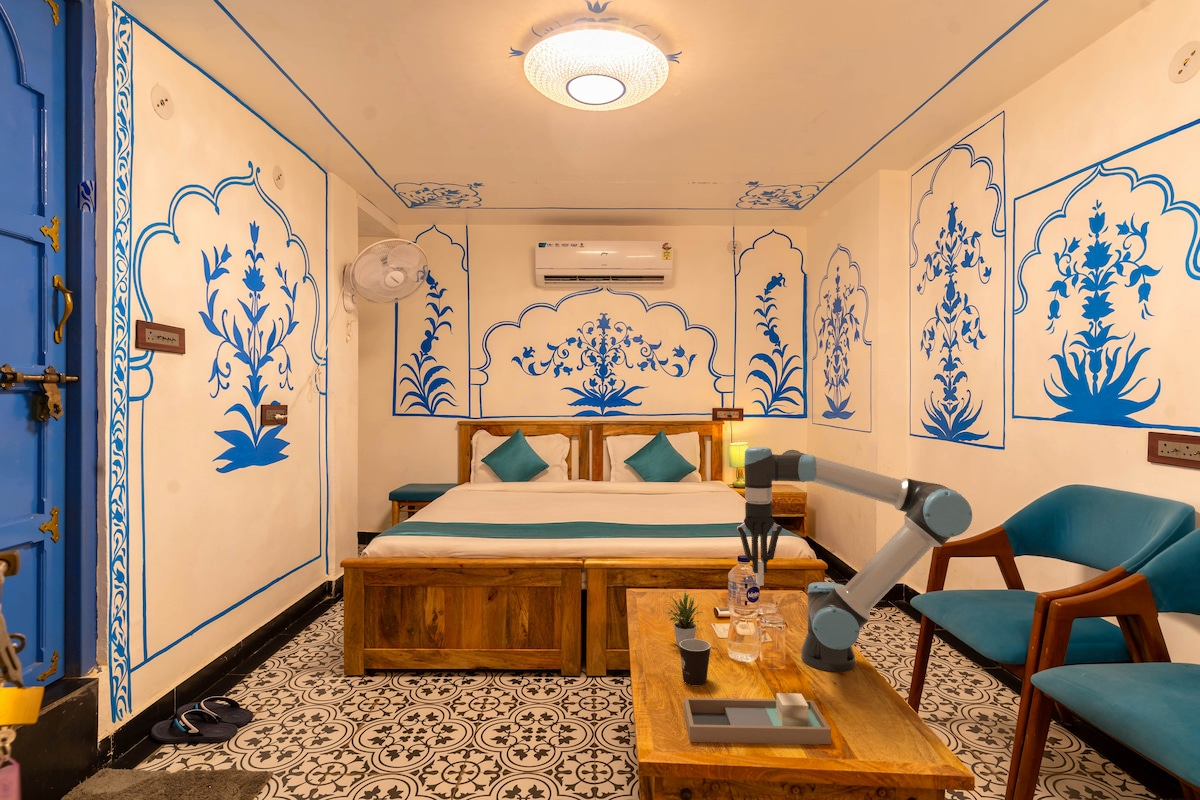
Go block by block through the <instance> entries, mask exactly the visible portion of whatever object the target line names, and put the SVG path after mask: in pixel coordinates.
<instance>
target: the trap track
mask: <svg viewBox="0 0 1200 800" xmlns="http://www.w3.org/2000/svg"><path fill="white" fill-rule="evenodd" d="M805 701H806V703H807V704H808V727H794V726H782V725H781V723H780V720H779V718H778V716H777V714H776V699H775V698H774V699H773V698H772V699H771V698H769V699H768V698H728V697H727V698H725V697H724V698H722V697H718V698H717V697H715V698H714V697H683V714H684V719H685V724H686V729H687V733H688V740H689V743H727V744H728V743H732V744H735V743H736V744H737V743H738V744H770V745H771V744H776V745H777V744H779V745H780V744H781V745H783V744H784V745H819V744H831V745H832V728H831V727H830V726H829V724H828V722H827V720H826V719H825V718H824V716H823V714H822V713H821V711H820V710H819V708H818V706H817V704H816V703H815V701H814V699H805Z"/></svg>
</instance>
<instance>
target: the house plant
mask: <svg viewBox="0 0 1200 800" xmlns="http://www.w3.org/2000/svg"><path fill="white" fill-rule="evenodd" d="M667 596H668V598H669V597H670V599H672V601H673V602H674V604H675V605H673V604H671V603H670V602H668V601H667V602H666V601H665V603H668V604H666V605H667V606H671V607H672V608H673V609H674V610H675V612H674V611H673V610H672V609H671V608H668V607H667V609H668V610H669V612H667V613H666V615H668V616H669V617H670V619H669V620H668V622H669V621H673V622H672V623H673V629H674V633H675V635H674V636H675V642H676V646H677V645H678V647H679V648H680V646H679V643H680V642H681V641H683V640H686V639H696V638H695V637H696V630H697V624H696V623H695V622H698V623H699V620H694V619H695V616H696V615H698V614H701V613H702V614H703V613H704V612H703V611H699V612H696V613H695V611H696V610H697V608H698V607H700V606H701V604H702V602H700V603H698V604H697V606H695V607H694V604H695V597H693V596H692V595H690V593H687V591H684V593H683V601H682V599H681V598H679V605H678V602H677V600H675V599H674V597H673V596H670V595H668V594H667ZM689 596H690V599H689ZM688 600H689V602H688ZM694 613H695V614H694ZM671 615H672V616H673V617H671Z"/></svg>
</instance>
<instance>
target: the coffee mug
mask: <svg viewBox="0 0 1200 800" xmlns="http://www.w3.org/2000/svg"><path fill="white" fill-rule="evenodd" d="M679 646H680V647H679ZM679 646H678V647H679V653H680V662H681V663H680V665H681V673H682V681H683V680H684V681H683V683H685V682H686V683H687V684H686V683H685V684H686V685H688V684H690V685H689V686H692V685H700V686H704V685H705V684H706V683H707V679H708V670H709V664H710V663H709V662H710V655H711V643H710V642H708V641H706V640H703V639H699V638H694V639H686V640H683V641H681V642H680V643H679ZM703 684H704V685H703Z"/></svg>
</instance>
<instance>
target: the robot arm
mask: <svg viewBox="0 0 1200 800" xmlns="http://www.w3.org/2000/svg"><path fill="white" fill-rule="evenodd" d="M773 482H798V483H799V482H801V483H806V482H808V483H809V482H812V483H814V484H815V483H816V484H819V485H822V486H827V487H829V488H834V489H836V490H840V491H844V492H847V493H850V494H854V495H858V496H860V497H865V498H868V499H871V500H875V501H878V502H882V503H885V504H888V505H892V506H893V507H894V508H895V509H896V510H897V511H901V512H904V513H905V514H904V517H903V518H904V519H903V520H904V524H903V525H902V526H901V527H899V529H898V530H897V532H895V533H894V534H893V535H892V536H891V538H889V540H887V542H886V543H885V544H884V545H883V546H882V547H881V548H879V550H878V551H877V552H876V553H875V554H874V555H873V556H872V557H871V558H870V560H868V562H866V563H865V564H864V566H863V567H861V569H860V570H859V571H858V572H857V573H856V574H855V575H854V576H853V577H852V578H851V579H850V580H849V581H848V582H847V583H846V584H845V585H844V584H841V583H834V582H825V581H820V582H819V581H818V582H812V583H809V584H808V587H807V591H806V594H807V634H806V636H805V640H804V642H803V645H802V648H801V655H800V656H801V660H802V661H803V662H804V664H806V665H808V666H809V667H812V668H815V669H818V670H821V671H826V672H827V671H829V672H845V671H846V672H847V671H850V670H852V669H854V668H855V666H856V656H855V652H854V648H853V646H854V644H855V643H856V642H857V641H858V638H859V636H860V633H861V631H860V630H861V629H862V628H863V627H864V626H865V625H866V624H867V623H868V622H869V621H870V620H871V613H870V611H871V610H872V609H873V607H875V606H876V604H878V603H879V602H880V600H882V598H884V596H885V595H886V594H887V593H889V591H890V590H891V589H893V587H894V586H895V585H896V584H897V583H898V582H899V581H900V580H901V579H902V578H903V577H904V576H906V574H907V573H908V572H909V571H910V570H911V569H912V568H913V567H914V566H915V565H916V564H917V563H918V562H919V561H920V560H921V559H922V557H924V556H925V555H926V554H927V552H929V551H930V550H931V549H932V548H934V547H937V548H938V547H943V546H944V544H946V543H947V542H948V541H949V540H950V538H954V537H958V536H960V535H963V533H966V531H967V530H968V529H969V528H970V526H971V524H972V521H973V512H972V511H973V509H972V507H971V505H970V503H969V501H968V500H967V499H966V498H965V497H964V496H963V495H962V494H961V493H960V492H957V491H956V490H954V489H951V488H949V487H947V486H945V485H943V484H940V483H935V482H928V481H921V480H918V479H917V480H916V479H912V478H911V479H910V478H908V477H904V478H901V479H898V478H896V477H895V478H894V477H891V476H887V475H884V474H880V473H876V472H874V471H873V472H872V471H869V470H865V469H862V468H859V467H855V466H851V465H848V464H843V463H840V462H836V461H833V460H829V459H825V458H822V457H818V456H815V455H813V454H807V453H804V452H800V450H796V449H788V450H785V451H784V452H782V454H774V453H773V452H772V449H771V448H770V447H768V446H767V447H765V446H754V447H751V446H750V447H747V448H746V450H744V486H745V487H744V488H745V489H744V496H745V497H744V500H745V501H746V502H745V503H744V504H745V507H744V508H745V509H744V510H745V512H744V513H745V517H744V519H743V523H741V524H740V525H737V526H736V527H735V528H736V530H737V532H738V533H739V536H740V540H741V544H742V547H743V552H744V556H745V557H746V559H747V560H748V561H751V564H752V565H751V566H752V567H751V568H752V572H753V573H754V574H755V584H756V585H757V586H764V585H765V576H764V574H766V573H768V563H769V561H770V560H771V561H773V560H774V557H775V553H776V548H777V544H778V540H779V536H780V534H781V532H782V530H783V527H782V526H781V525H779V524H777V523H775V520H774V518H773V503H772V501H773V484H772V483H773ZM747 529H748V531H749V532H750V536H751V549H750V545H749V540H748V537H747V533H746V531H747ZM770 530H772V532H771V535H770V541H769V545H768V534H769V532H770ZM759 537H760V559H761V560H759Z"/></svg>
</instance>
